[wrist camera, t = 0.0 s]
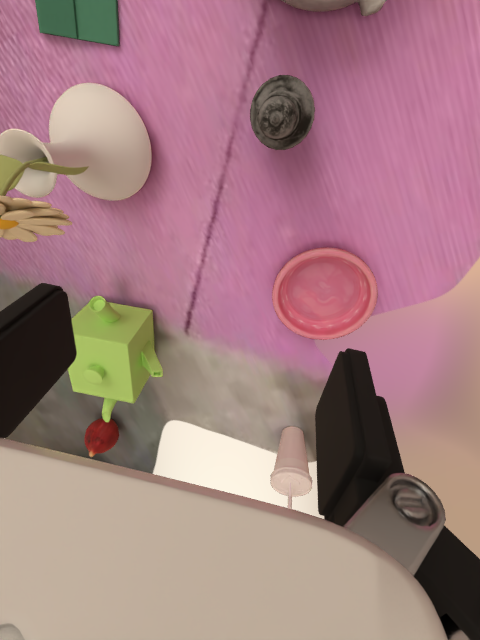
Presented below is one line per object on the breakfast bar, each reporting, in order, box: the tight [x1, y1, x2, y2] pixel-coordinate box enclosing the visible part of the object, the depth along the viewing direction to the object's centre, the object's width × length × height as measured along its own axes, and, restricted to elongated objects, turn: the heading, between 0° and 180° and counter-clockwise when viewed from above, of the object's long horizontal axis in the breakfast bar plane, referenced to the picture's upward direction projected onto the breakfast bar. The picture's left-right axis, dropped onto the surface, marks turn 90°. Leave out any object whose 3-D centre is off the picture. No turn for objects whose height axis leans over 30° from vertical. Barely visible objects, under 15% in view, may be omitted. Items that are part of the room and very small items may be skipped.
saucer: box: [272, 248, 378, 340], centre depth 42 cm, size 12×12×3 cm
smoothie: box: [271, 426, 312, 509], centre depth 54 cm, size 6×6×14 cm
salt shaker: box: [250, 75, 315, 150], centre depth 29 cm, size 6×6×12 cm
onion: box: [85, 419, 119, 457], centre depth 63 cm, size 6×6×8 cm
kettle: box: [68, 296, 163, 422], centre depth 48 cm, size 15×14×11 cm
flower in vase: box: [0, 83, 152, 242], centre depth 28 cm, size 13×11×25 cm
